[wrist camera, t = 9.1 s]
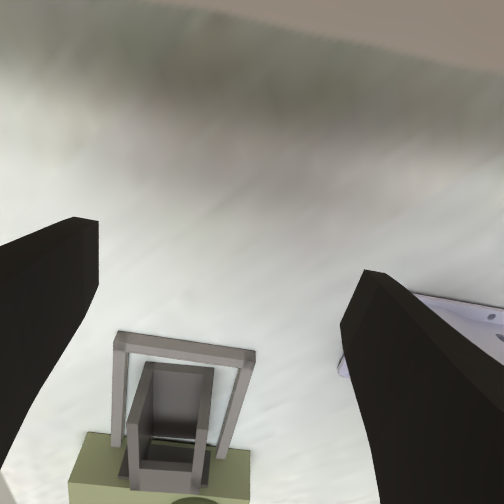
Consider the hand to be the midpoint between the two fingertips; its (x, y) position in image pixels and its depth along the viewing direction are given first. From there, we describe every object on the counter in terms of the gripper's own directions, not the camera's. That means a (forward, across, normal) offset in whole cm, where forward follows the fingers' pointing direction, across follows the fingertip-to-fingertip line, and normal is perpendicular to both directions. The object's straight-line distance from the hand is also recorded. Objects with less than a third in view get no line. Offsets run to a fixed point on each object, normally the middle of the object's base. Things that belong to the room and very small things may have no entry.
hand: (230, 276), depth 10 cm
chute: (+10, +1, +20) cm, 22 cm away
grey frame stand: (+10, +1, +22) cm, 24 cm away
